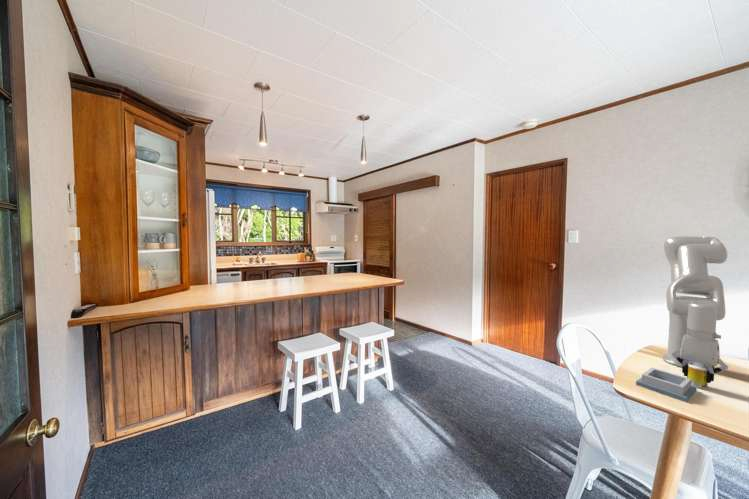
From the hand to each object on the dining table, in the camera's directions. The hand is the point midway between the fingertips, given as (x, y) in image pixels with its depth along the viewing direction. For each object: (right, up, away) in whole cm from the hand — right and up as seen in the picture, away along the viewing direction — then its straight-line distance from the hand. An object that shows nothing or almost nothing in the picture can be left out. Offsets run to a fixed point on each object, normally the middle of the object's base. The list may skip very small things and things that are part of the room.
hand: (697, 378), depth 116 cm
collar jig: (-14, -3, -2) cm, 15 cm away
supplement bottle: (0, -3, 0) cm, 3 cm away
